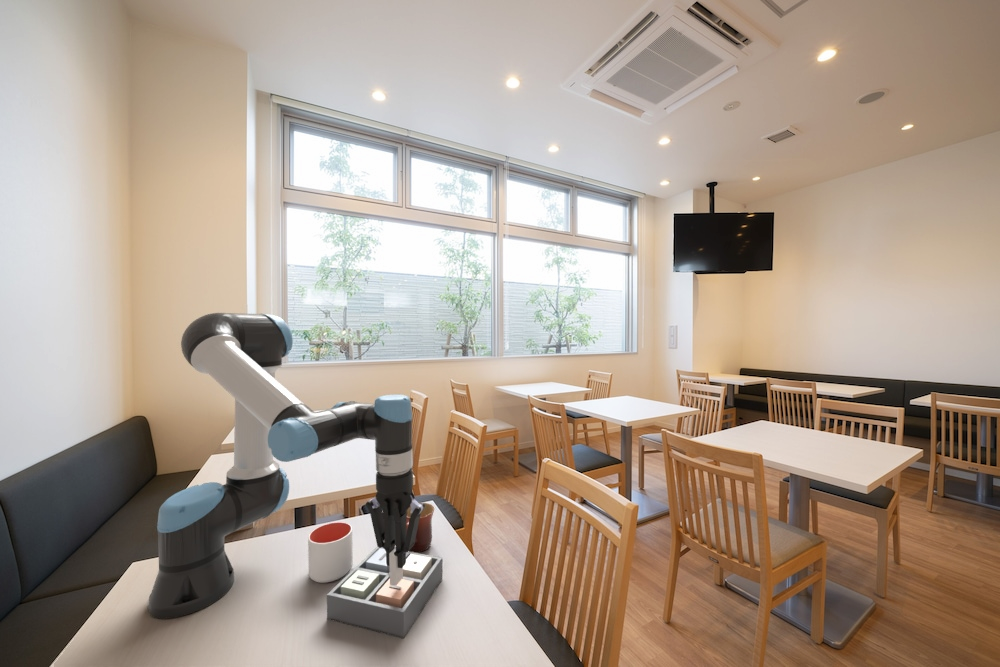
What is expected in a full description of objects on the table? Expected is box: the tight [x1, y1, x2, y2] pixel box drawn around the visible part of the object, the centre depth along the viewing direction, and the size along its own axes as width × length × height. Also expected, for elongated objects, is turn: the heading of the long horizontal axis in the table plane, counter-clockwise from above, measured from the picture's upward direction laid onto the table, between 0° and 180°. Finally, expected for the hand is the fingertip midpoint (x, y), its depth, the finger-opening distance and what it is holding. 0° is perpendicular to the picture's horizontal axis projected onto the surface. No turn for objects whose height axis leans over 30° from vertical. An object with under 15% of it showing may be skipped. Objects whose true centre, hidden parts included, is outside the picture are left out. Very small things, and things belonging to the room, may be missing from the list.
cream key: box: [403, 554, 432, 580], centre depth 87 cm, size 6×6×4 cm
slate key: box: [366, 548, 390, 573], centre depth 89 cm, size 6×6×4 cm
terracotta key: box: [376, 578, 414, 608], centre depth 79 cm, size 6×6×4 cm
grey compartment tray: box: [326, 545, 443, 639], centre depth 84 cm, size 18×18×5 cm
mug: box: [406, 502, 435, 553], centre depth 102 cm, size 12×9×10 cm
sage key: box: [341, 570, 379, 600], centre depth 81 cm, size 6×6×4 cm
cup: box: [307, 521, 353, 584], centre depth 93 cm, size 10×10×10 cm
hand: (396, 580), depth 79 cm, fingers closed
